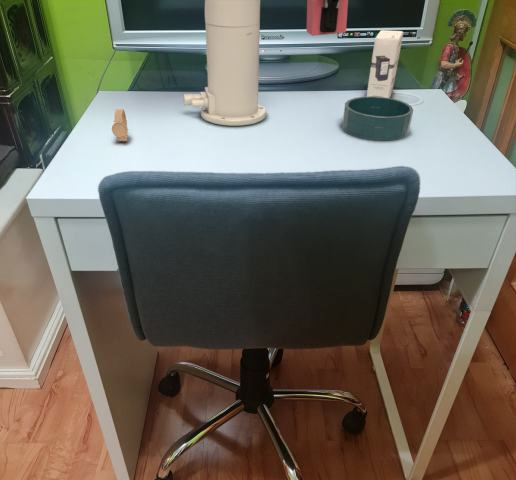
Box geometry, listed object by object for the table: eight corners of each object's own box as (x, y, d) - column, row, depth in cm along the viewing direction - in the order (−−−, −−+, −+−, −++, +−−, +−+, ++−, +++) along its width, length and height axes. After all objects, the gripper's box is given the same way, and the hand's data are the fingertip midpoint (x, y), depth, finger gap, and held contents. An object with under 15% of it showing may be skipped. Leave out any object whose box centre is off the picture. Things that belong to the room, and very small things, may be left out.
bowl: (355, 142, 90) (358, 119, 87) (333, 119, 99) (336, 97, 96) (419, 139, 92) (424, 115, 89) (392, 116, 101) (396, 95, 98)
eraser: (312, 35, 100) (313, 0, 96) (306, 31, 103) (307, -3, 99) (346, 32, 101) (348, -3, 97) (339, 28, 104) (341, -6, 100)
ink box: (371, 89, 115) (380, 28, 107) (393, 91, 114) (404, 30, 106) (365, 99, 109) (374, 36, 101) (388, 102, 108) (400, 38, 100)
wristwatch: (114, 145, 86) (109, 114, 83) (117, 135, 90) (113, 105, 86) (130, 145, 86) (125, 114, 83) (133, 135, 90) (129, 105, 87)
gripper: (301, -94, 94) (295, 21, 107) (328, -91, 82) (318, 39, 95) (339, -93, 96) (329, 20, 108) (372, -90, 84) (356, 38, 96)
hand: (324, 28), depth 101 cm, fingers closed on eraser, 4 cm apart
